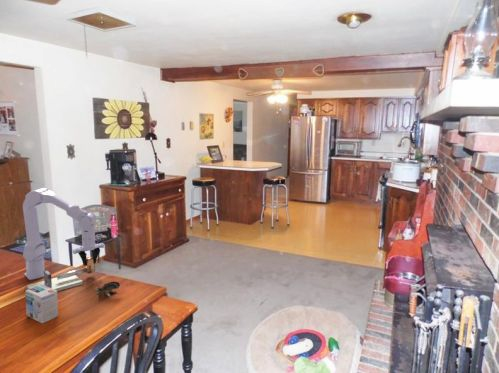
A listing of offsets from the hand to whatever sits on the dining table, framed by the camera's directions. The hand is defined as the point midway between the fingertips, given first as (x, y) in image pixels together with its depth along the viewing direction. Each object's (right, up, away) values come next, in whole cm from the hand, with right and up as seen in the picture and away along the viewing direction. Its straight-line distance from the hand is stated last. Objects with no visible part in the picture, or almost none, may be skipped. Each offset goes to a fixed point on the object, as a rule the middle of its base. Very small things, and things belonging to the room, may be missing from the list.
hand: (89, 264), depth 169 cm
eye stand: (-11, -8, -10) cm, 17 cm away
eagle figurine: (+16, -11, -17) cm, 26 cm away
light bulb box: (-2, -13, -35) cm, 37 cm away
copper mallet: (-5, -5, -4) cm, 8 cm away
